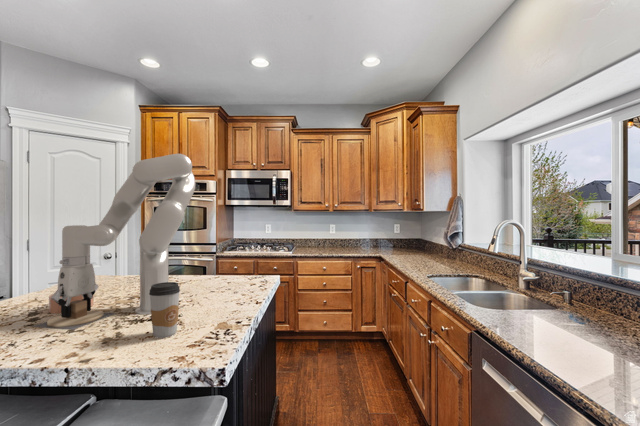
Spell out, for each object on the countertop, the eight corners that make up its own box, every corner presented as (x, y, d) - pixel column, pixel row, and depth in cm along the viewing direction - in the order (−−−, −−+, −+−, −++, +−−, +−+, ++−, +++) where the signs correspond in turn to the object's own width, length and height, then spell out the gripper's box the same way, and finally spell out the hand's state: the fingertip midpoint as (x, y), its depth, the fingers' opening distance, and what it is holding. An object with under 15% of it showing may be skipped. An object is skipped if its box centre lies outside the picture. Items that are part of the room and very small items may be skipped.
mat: (116, 315, 111) (116, 313, 111) (73, 331, 95) (73, 329, 95) (79, 312, 114) (79, 311, 114) (31, 328, 98) (31, 326, 98)
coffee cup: (159, 342, 87) (159, 289, 87) (143, 336, 91) (143, 285, 91) (186, 332, 94) (185, 283, 94) (170, 327, 98) (169, 280, 98)
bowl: (101, 305, 123) (101, 290, 123) (69, 315, 111) (69, 298, 111) (74, 303, 126) (74, 288, 126) (39, 313, 113) (39, 297, 113)
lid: (113, 313, 111) (113, 297, 111) (73, 328, 96) (73, 309, 96) (79, 311, 113) (79, 295, 113) (34, 326, 99) (34, 307, 99)
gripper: (59, 265, 96) (59, 323, 95) (107, 258, 113) (107, 307, 112) (40, 265, 97) (40, 322, 97) (90, 257, 114) (90, 306, 114)
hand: (76, 313), depth 105 cm, fingers open, 6 cm apart
